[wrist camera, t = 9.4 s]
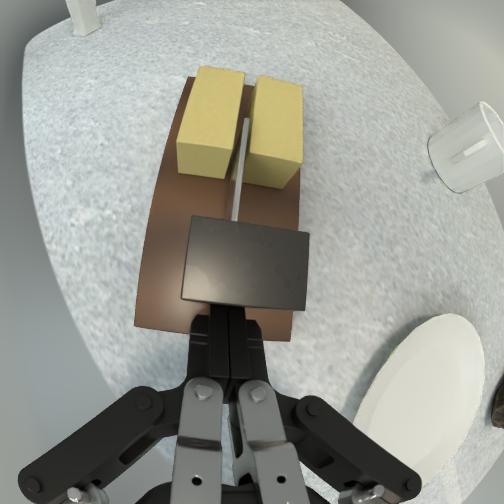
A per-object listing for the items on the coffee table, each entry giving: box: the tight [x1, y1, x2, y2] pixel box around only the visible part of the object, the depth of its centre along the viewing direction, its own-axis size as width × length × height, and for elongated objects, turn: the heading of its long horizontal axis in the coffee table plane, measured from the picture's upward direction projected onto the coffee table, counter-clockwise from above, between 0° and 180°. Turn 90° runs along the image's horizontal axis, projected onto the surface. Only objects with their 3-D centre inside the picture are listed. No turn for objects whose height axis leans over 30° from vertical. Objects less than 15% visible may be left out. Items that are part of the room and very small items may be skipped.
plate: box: [352, 313, 485, 487], centre depth 19 cm, size 21×21×2 cm
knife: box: [180, 118, 310, 311], centre depth 13 cm, size 10×4×9 cm, turn 175°
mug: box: [428, 101, 504, 193], centre depth 22 cm, size 8×12×10 cm
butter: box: [176, 66, 303, 189], centre depth 17 cm, size 7×7×4 cm
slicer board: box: [134, 77, 300, 342], centre depth 19 cm, size 20×10×2 cm, turn 175°
